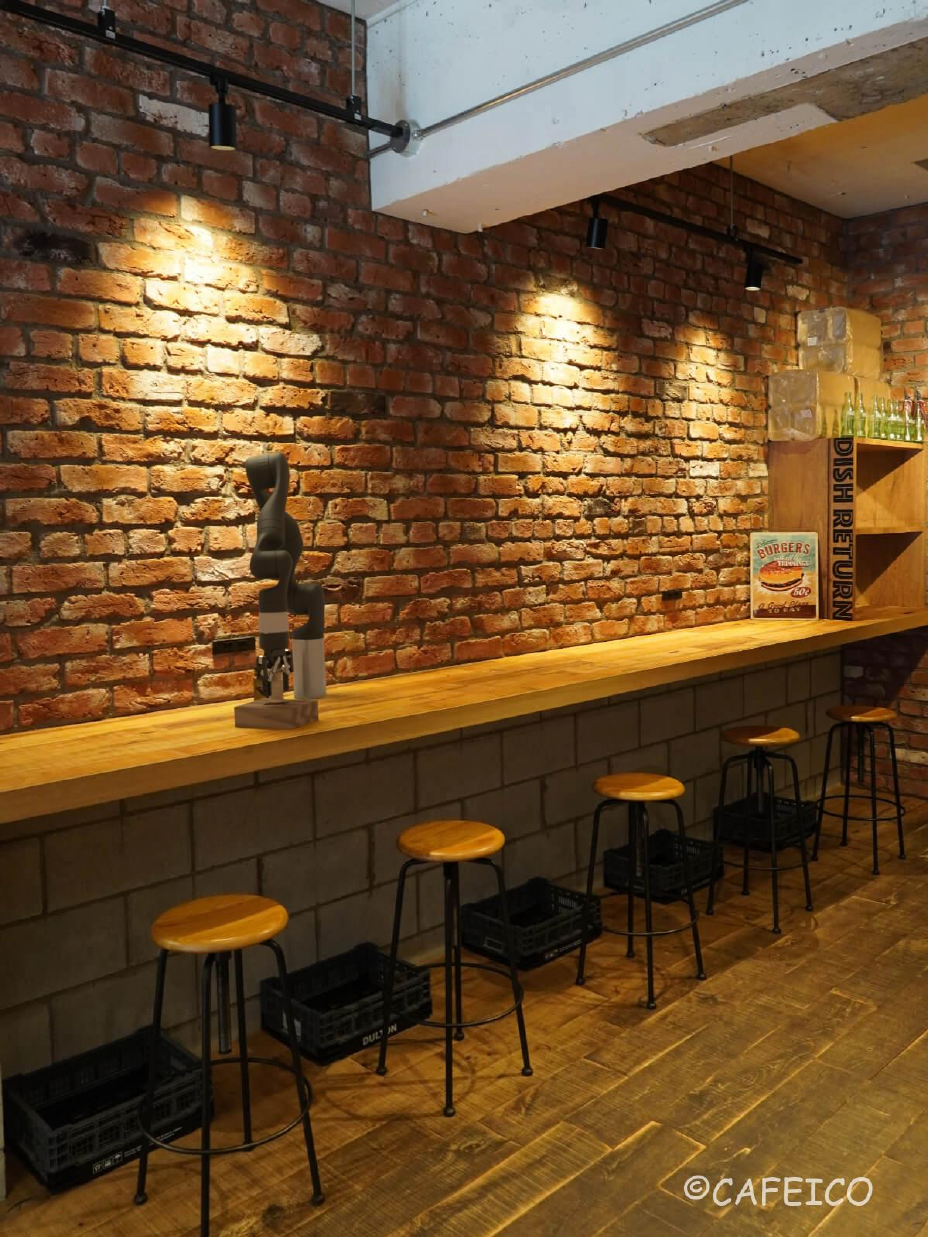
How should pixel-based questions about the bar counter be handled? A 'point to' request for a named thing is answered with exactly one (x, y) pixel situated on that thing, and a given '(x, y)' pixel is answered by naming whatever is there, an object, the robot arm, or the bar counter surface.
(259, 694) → the condiment
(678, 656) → the bar counter surface
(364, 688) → the bar counter surface
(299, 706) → the wooden block with hole
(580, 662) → the bar counter surface
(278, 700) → the peg
